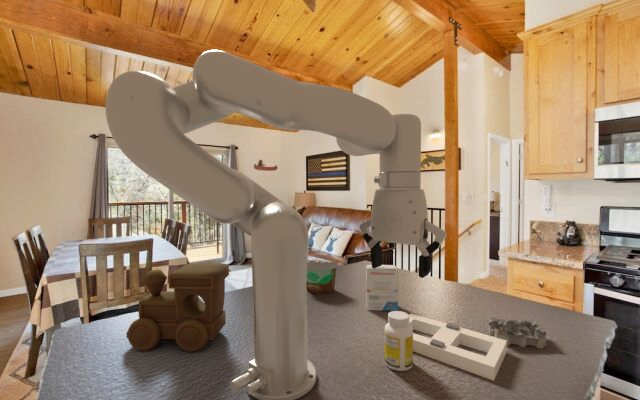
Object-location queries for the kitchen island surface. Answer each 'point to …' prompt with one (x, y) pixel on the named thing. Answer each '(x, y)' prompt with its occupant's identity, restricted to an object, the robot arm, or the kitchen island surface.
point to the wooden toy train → (181, 307)
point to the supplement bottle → (398, 341)
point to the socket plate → (447, 344)
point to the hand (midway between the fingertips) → (399, 271)
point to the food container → (321, 276)
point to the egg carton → (518, 332)
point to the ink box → (382, 288)
